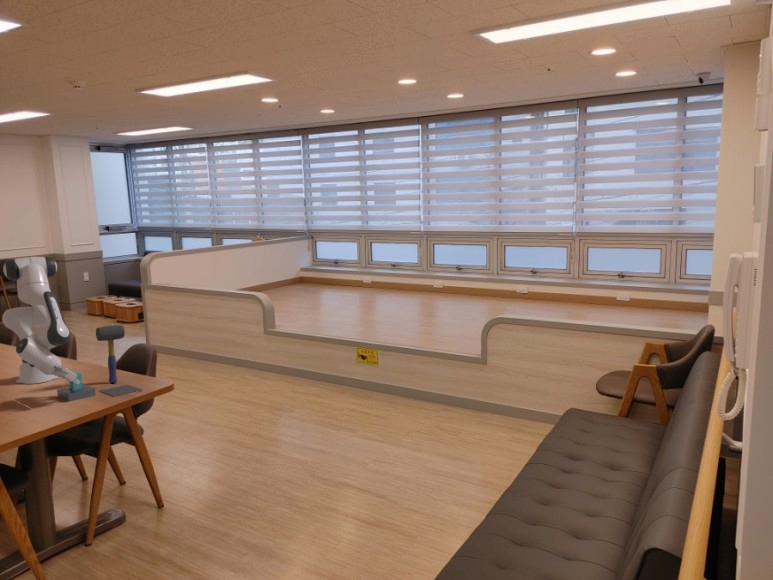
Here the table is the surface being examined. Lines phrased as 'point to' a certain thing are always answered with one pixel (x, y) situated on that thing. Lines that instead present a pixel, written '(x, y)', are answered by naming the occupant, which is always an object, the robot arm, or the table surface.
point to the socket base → (76, 393)
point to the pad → (120, 390)
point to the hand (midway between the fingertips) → (74, 381)
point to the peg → (73, 385)
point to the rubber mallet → (110, 345)
